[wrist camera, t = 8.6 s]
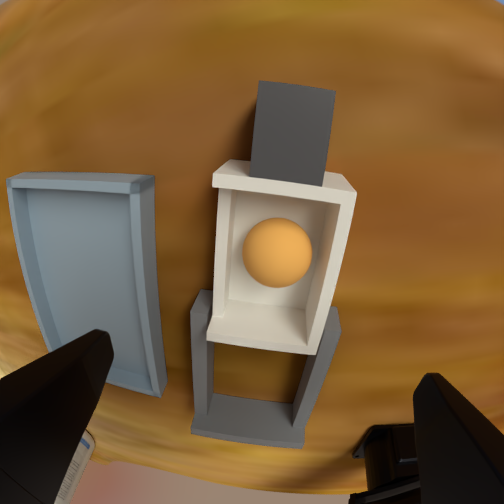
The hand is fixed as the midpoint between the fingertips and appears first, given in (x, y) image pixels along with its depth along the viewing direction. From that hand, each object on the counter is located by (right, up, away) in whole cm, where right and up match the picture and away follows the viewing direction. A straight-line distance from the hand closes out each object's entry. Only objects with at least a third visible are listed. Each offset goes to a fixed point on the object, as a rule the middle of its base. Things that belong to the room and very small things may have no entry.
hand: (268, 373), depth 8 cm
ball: (+1, +3, +8) cm, 9 cm away
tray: (-12, +1, +13) cm, 18 cm away
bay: (0, -5, +14) cm, 15 cm away
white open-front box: (+1, +5, +9) cm, 11 cm away
